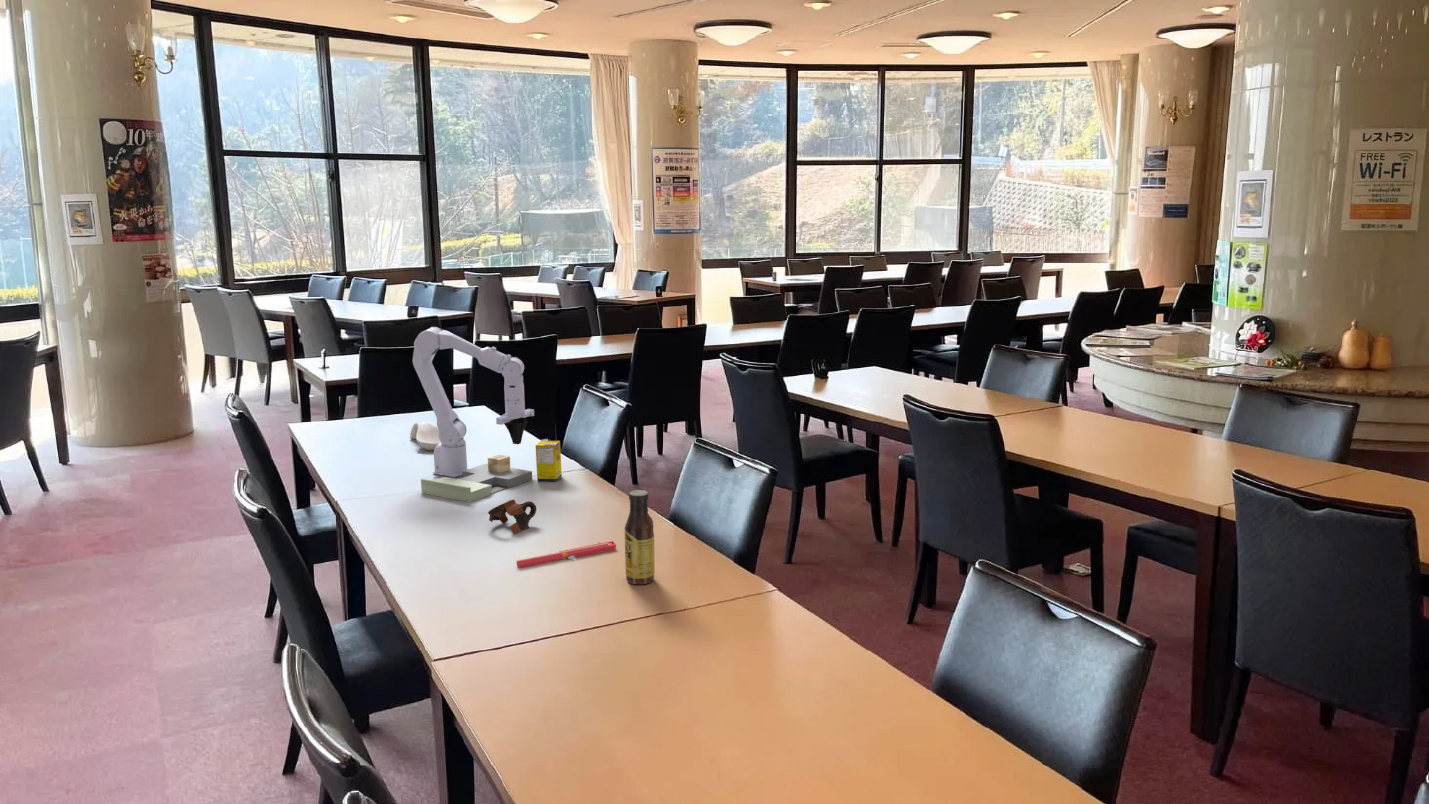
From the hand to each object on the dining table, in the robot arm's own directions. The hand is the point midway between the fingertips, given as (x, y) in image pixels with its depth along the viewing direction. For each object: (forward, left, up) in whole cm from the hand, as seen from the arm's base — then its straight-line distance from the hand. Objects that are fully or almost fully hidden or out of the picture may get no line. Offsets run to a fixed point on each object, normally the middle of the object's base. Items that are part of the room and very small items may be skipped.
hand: (516, 443), depth 304 cm
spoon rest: (-50, +12, -9) cm, 53 cm away
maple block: (0, -8, -6) cm, 10 cm away
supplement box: (+13, -1, -9) cm, 16 cm away
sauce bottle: (+83, -55, -9) cm, 100 cm away
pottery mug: (+34, -41, -9) cm, 54 cm away
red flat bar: (+60, -52, -10) cm, 80 cm away
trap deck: (0, -17, -9) cm, 19 cm away
